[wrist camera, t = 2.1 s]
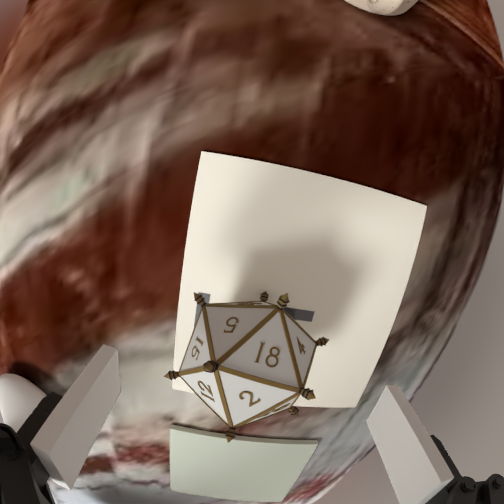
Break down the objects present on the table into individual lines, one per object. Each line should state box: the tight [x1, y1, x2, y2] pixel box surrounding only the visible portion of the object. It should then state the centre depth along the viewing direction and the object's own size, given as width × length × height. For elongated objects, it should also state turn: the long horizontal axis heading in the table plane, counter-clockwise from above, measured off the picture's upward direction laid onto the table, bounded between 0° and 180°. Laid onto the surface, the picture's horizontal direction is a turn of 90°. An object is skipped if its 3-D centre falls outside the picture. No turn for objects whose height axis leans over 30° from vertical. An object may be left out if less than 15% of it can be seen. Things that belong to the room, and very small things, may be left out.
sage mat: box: [170, 424, 318, 502], centre depth 24 cm, size 14×14×1 cm
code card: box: [172, 151, 427, 407], centre depth 19 cm, size 18×16×1 cm
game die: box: [164, 291, 330, 443], centre depth 16 cm, size 9×8×10 cm
